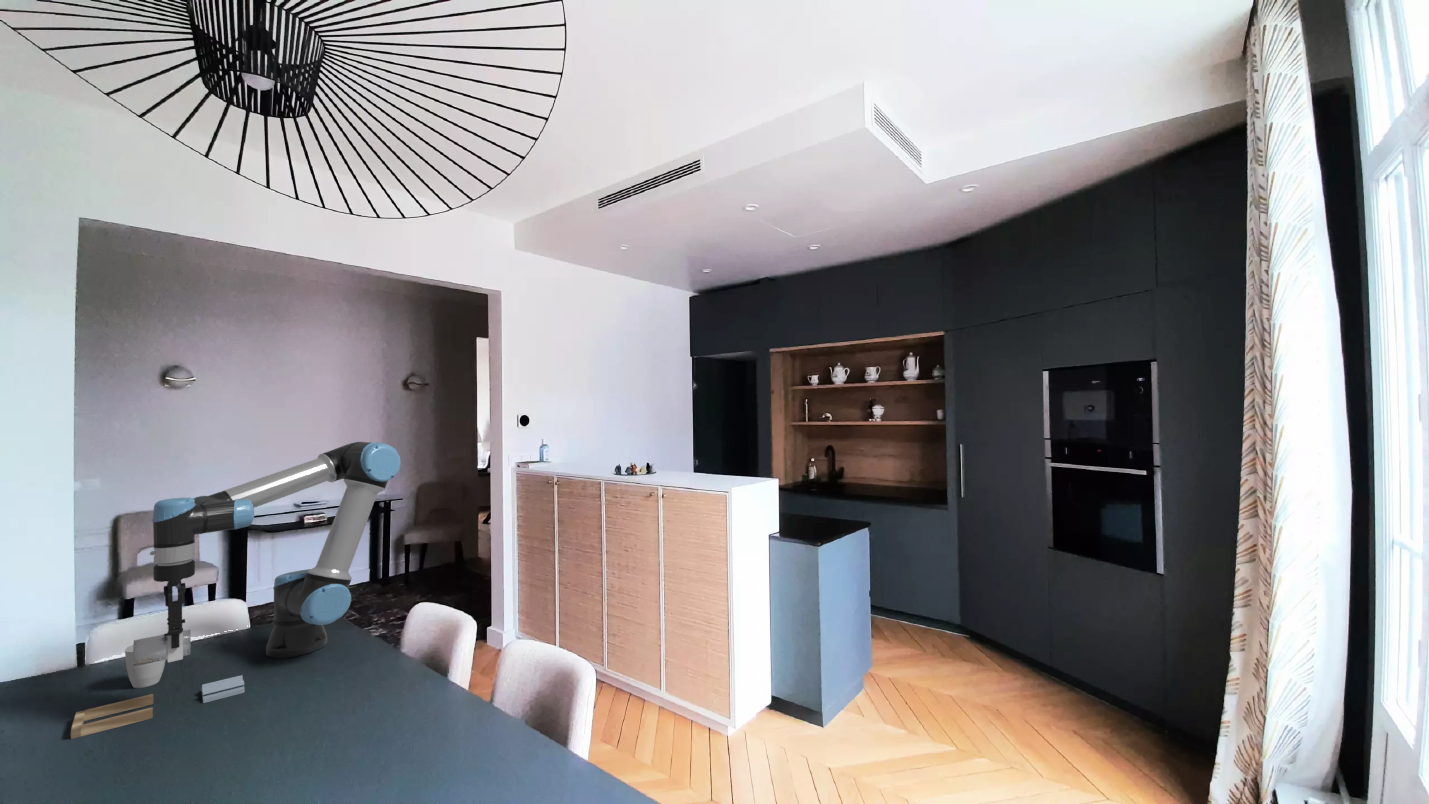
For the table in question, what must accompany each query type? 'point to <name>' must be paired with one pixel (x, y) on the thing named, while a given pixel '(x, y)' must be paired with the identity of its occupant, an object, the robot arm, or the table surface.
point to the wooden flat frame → (113, 722)
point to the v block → (222, 688)
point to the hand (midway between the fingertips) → (175, 655)
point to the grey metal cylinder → (156, 648)
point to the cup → (143, 671)
